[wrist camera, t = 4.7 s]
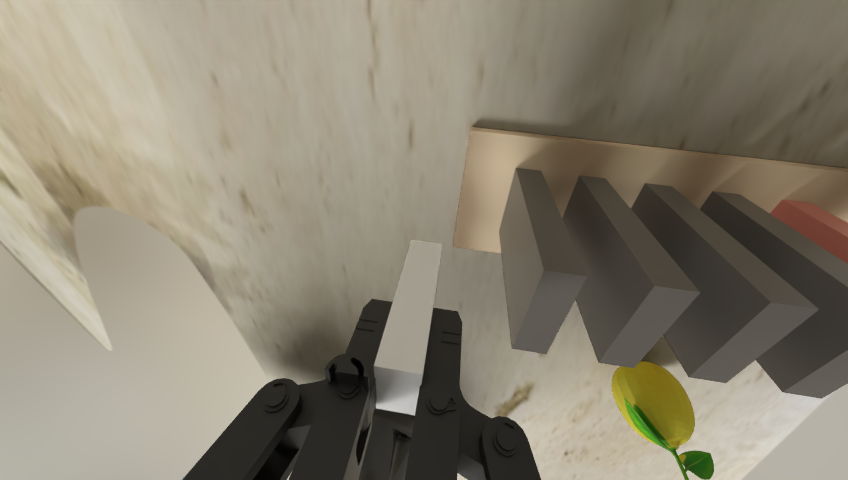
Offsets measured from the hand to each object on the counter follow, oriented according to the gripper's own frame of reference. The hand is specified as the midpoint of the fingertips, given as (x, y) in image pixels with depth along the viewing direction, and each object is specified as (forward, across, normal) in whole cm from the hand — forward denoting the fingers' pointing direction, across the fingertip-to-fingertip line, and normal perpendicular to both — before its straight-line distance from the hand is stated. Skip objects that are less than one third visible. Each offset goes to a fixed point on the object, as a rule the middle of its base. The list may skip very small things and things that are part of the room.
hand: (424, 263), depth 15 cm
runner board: (+9, +14, 0) cm, 17 cm away
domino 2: (+8, +10, 0) cm, 12 cm away
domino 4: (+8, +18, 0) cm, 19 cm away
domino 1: (+8, +6, 0) cm, 10 cm away
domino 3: (+8, +14, 0) cm, 16 cm away
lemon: (+9, +21, -16) cm, 28 cm away
